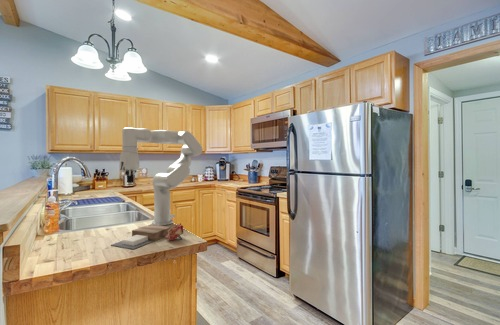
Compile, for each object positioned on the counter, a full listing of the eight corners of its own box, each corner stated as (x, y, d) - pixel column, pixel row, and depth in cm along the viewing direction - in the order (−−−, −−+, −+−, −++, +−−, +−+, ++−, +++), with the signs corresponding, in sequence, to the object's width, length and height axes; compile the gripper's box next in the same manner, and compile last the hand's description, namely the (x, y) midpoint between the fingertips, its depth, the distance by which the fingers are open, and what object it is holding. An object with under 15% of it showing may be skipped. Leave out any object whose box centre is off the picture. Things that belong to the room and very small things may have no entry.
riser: (150, 231, 142) (150, 224, 142) (171, 234, 137) (171, 226, 137) (132, 238, 130) (131, 230, 130) (153, 241, 125) (153, 233, 125)
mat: (131, 238, 130) (131, 237, 130) (152, 241, 125) (152, 241, 125) (110, 245, 119) (110, 244, 119) (133, 249, 114) (133, 248, 114)
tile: (137, 238, 129) (137, 234, 129) (148, 240, 126) (148, 236, 126) (122, 244, 120) (122, 239, 120) (133, 245, 118) (133, 241, 118)
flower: (187, 232, 134) (178, 220, 134) (189, 233, 126) (179, 221, 125) (172, 245, 130) (162, 233, 130) (173, 247, 122) (162, 234, 121)
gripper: (135, 150, 152) (135, 181, 152) (113, 149, 138) (113, 183, 138) (145, 150, 149) (145, 181, 149) (123, 149, 135) (123, 184, 136)
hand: (130, 182), depth 144 cm, fingers closed
